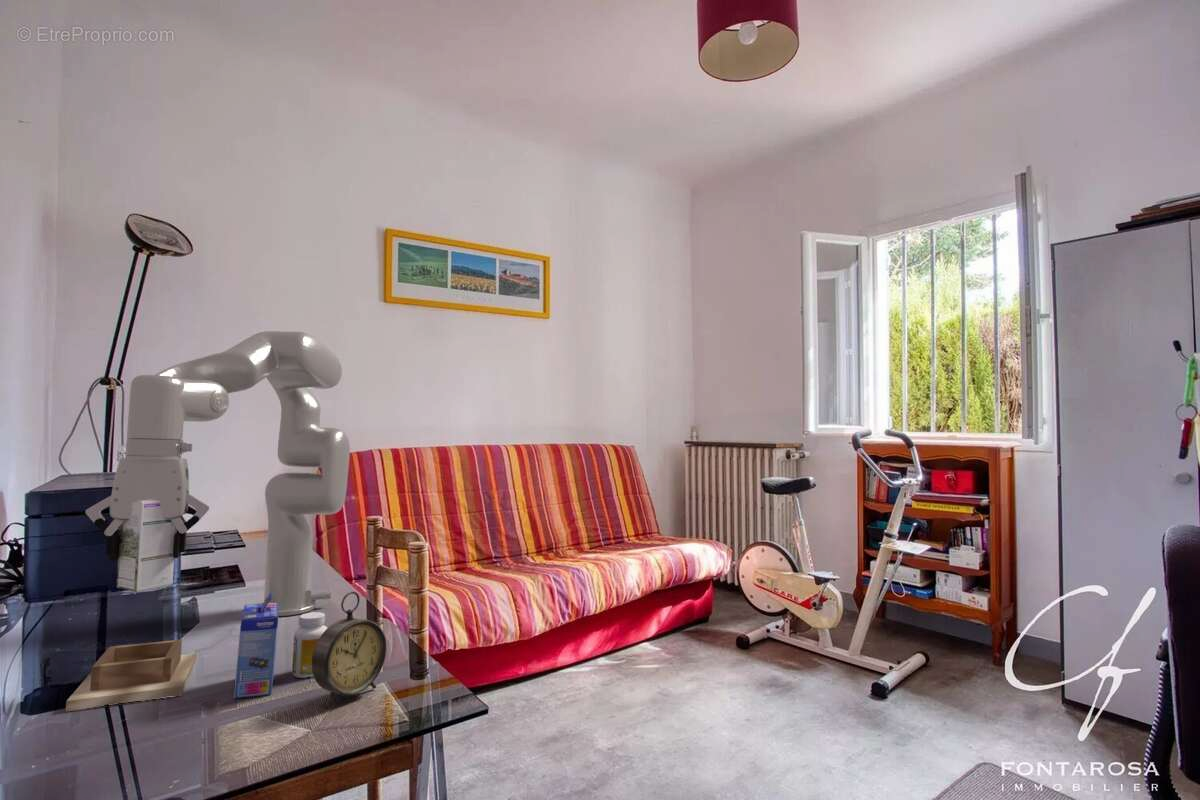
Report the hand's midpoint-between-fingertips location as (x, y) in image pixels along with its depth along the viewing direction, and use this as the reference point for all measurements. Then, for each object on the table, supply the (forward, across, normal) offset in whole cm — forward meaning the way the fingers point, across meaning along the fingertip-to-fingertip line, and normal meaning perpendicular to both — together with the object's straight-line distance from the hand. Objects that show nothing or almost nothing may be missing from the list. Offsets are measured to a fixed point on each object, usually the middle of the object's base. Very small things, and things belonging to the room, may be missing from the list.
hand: (146, 557), depth 101 cm
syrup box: (+5, 0, 0) cm, 5 cm away
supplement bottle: (+20, -25, +5) cm, 33 cm away
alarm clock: (+20, -30, +18) cm, 40 cm away
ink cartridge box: (+20, -17, +8) cm, 28 cm away
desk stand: (+20, 0, 0) cm, 20 cm away
